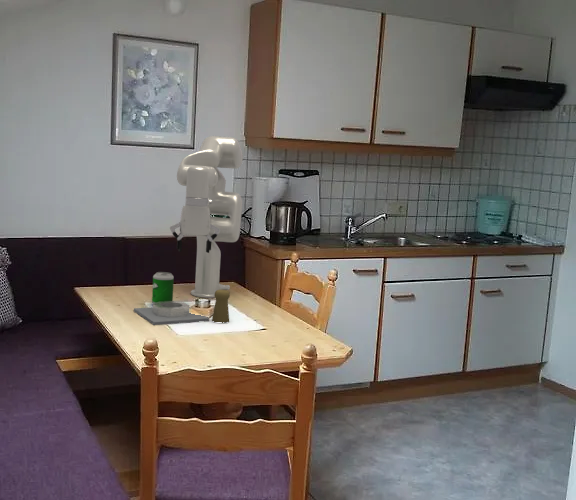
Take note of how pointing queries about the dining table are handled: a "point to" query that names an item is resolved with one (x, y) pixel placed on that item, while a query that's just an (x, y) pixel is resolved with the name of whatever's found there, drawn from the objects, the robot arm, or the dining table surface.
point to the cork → (221, 306)
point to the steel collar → (171, 309)
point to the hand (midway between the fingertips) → (193, 251)
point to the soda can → (162, 287)
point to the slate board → (159, 320)
